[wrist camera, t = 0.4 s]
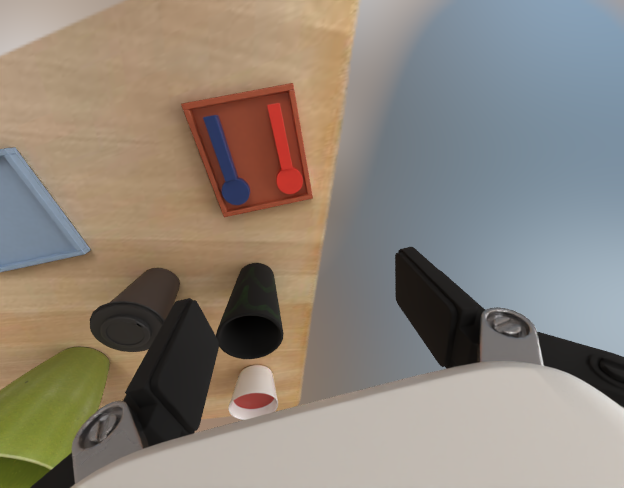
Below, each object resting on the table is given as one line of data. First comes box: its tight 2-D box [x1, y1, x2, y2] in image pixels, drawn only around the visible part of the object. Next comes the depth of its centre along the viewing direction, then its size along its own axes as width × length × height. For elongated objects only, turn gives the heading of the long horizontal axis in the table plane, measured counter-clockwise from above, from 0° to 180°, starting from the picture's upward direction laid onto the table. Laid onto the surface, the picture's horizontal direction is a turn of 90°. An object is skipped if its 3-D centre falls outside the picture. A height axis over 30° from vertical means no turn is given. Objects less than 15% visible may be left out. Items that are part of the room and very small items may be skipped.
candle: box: [229, 365, 278, 420], centre depth 46 cm, size 9×9×6 cm
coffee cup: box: [90, 268, 180, 352], centre depth 31 cm, size 8×8×10 cm
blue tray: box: [0, 147, 91, 272], centre depth 28 cm, size 13×12×1 cm
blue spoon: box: [203, 115, 250, 205], centre depth 28 cm, size 10×3×2 cm, turn 10°
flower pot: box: [0, 347, 110, 488], centre depth 34 cm, size 15×15×16 cm
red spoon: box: [267, 103, 303, 194], centre depth 29 cm, size 10×3×2 cm, turn 9°
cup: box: [216, 263, 283, 359], centre depth 33 cm, size 8×8×12 cm
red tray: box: [181, 83, 313, 217], centre depth 29 cm, size 13×12×1 cm
